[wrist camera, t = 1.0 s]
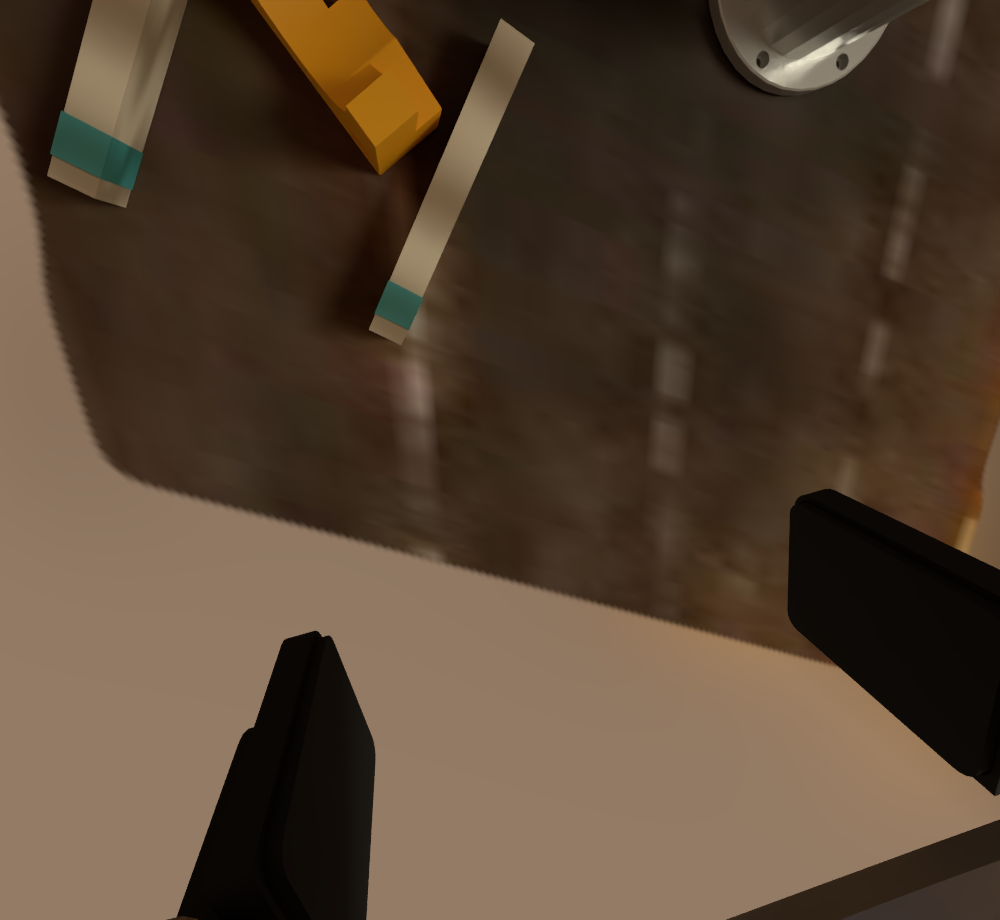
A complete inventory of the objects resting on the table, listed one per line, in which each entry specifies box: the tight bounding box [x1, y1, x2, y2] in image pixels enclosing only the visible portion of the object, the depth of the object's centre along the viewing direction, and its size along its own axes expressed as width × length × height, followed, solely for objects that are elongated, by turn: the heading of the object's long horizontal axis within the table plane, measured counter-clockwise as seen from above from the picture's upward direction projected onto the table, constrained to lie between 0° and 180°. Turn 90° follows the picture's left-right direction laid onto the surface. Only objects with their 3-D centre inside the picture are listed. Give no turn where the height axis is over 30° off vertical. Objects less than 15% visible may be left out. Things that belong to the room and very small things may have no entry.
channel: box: [47, 0, 534, 345], centre depth 26 cm, size 17×18×3 cm
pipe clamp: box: [251, 0, 442, 176], centre depth 24 cm, size 12×4×6 cm, turn 37°
